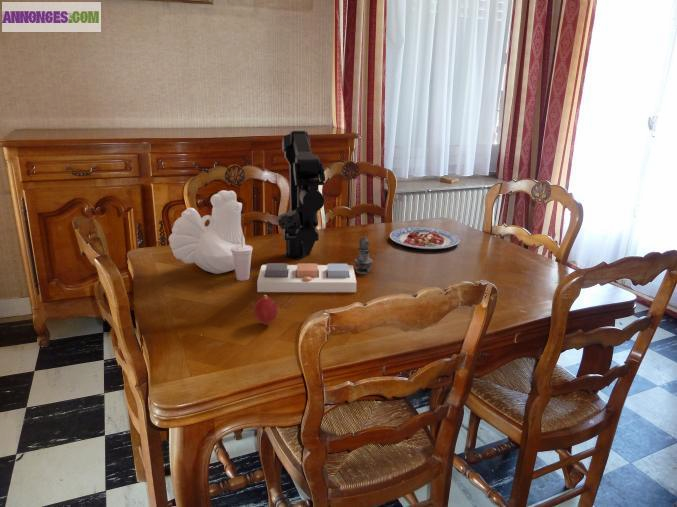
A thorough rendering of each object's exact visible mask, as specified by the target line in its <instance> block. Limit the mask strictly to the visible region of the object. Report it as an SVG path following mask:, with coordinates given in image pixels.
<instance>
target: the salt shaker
mask: <svg viewBox="0 0 677 507" xmlns="http://www.w3.org/2000/svg"><path fill="white" fill-rule="evenodd" d="M369 246H370V239H369V238H368V237H366V235H365V234H364V235H363V237H362V238H360V239H359V248H358V257H356V258H355V259H354V264H355V267H356V268H355V269H354V273H356V272H357V274H358V273H360V274H359V275H369V274H371V273H372V270H371V269H370V268H371V267H372V263H373V262H374V261H373V259H372V258H370V256H369V255H370V254H369V252H370V250H371V249H370V248H369ZM368 273H369V274H368Z"/></svg>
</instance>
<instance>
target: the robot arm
mask: <svg viewBox="0 0 677 507" xmlns="http://www.w3.org/2000/svg"><path fill="white" fill-rule="evenodd" d="M281 151H282V152H283V153H284V154H283V155H284V158H285V159H286V162H287V163H288V165H289V166H288V167H289V169H288V170H289V210H288V212H284V213H282V214H279V215H278V216H277V219H276V220H277V222H278V226H279V228H280V230H282V237H283V239H284V241H285V253H284V254H283V256H284V257H286V258H291V259H294V260H295V259H296V260H300V259H302V258H305V257H308V256H309V257H310V254H311V252H312V250H313V248H314V245H315V243H316V242H318V241H319V238H320V237H319V236H320V235H319V229H318V228H317V227H318V226H319V216H318V212H319V211H320V210H321V209H323V206H324V204H325V198H324V196H323V194H322V193H321V191H320V190H319V189H320V188H319V187H320V186H324V185H325V182H326V174H325V168H324V165H323V163H322V161H321V162H320V158H319V157H318V155H317V154H314V153H312V148H311V136H309V135H308V131H306V130H292V131H290V132H289V133H288V134H287V135H284V136H283V137H282V142H281Z"/></svg>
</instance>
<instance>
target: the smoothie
mask: <svg viewBox="0 0 677 507" xmlns="http://www.w3.org/2000/svg"><path fill="white" fill-rule="evenodd" d="M243 235H244V232H243V233H241V242H242V245H236V246H233V247H231V252H232V255H233V260H234V266H235V269H234V272H235V278H236V280H237V281H241V282H242V281H247V280H249V279H250V272H251V265H252V264H251V263H252V262H251V261H252V260H251V259H252V252H253V249H254V248H253V246H252V245H249V244H245V245H243Z"/></svg>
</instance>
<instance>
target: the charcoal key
mask: <svg viewBox="0 0 677 507" xmlns="http://www.w3.org/2000/svg"><path fill="white" fill-rule="evenodd" d="M266 265H267V266H266V270H265V274H266V277H276V278H287V265H288V262H287V263H284V262H283V263H282V262H279V263H278V262H277V263H273V262H270V263H269V262H267V263H266Z"/></svg>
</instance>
